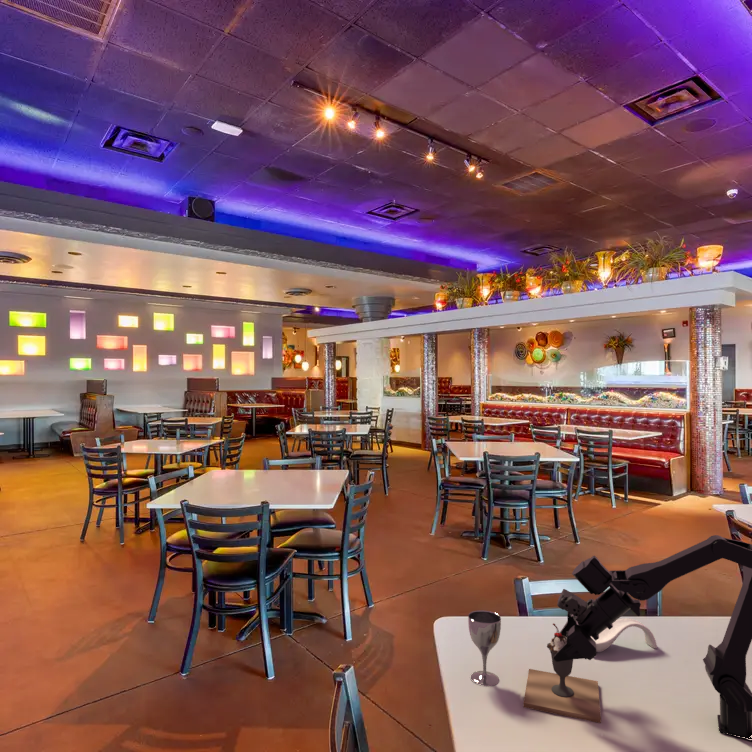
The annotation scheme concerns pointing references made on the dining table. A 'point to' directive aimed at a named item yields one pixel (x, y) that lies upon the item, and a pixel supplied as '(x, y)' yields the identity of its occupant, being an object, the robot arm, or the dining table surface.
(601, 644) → the spoon rest
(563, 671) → the sundae
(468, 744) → the dining table surface
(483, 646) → the wine glass
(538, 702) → the serving board
